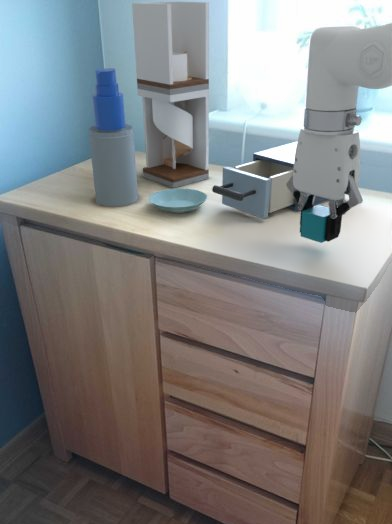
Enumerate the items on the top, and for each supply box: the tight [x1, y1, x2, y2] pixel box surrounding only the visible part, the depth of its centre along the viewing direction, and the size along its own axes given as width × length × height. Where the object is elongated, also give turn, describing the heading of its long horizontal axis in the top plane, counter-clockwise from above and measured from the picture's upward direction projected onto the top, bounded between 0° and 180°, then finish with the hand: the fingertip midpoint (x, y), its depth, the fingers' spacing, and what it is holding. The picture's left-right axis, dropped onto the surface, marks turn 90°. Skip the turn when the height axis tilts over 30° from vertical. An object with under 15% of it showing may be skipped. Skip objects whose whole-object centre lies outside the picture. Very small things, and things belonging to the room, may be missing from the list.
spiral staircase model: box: [131, 0, 210, 189], centre depth 122 cm, size 11×11×35 cm
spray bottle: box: [88, 67, 139, 208], centre depth 112 cm, size 9×9×25 cm
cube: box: [300, 204, 330, 244], centre depth 93 cm, size 4×4×4 cm
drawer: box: [211, 159, 295, 219], centre depth 110 cm, size 18×11×7 cm, turn 132°
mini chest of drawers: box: [252, 140, 328, 213], centre depth 117 cm, size 15×13×9 cm
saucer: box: [148, 187, 208, 214], centre depth 114 cm, size 12×12×2 cm
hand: (319, 234), depth 94 cm, fingers closed on cube, 4 cm apart
